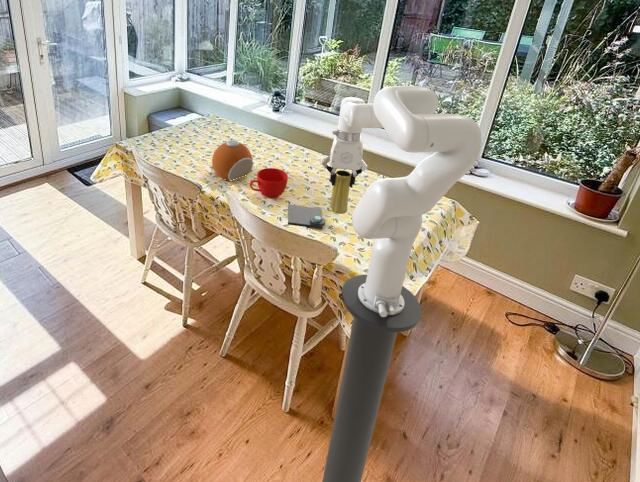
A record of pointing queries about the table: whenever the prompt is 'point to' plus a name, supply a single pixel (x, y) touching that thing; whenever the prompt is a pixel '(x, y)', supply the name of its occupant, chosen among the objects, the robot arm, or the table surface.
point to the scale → (305, 216)
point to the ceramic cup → (271, 182)
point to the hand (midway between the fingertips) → (341, 184)
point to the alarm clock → (232, 160)
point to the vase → (340, 192)
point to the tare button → (317, 219)
